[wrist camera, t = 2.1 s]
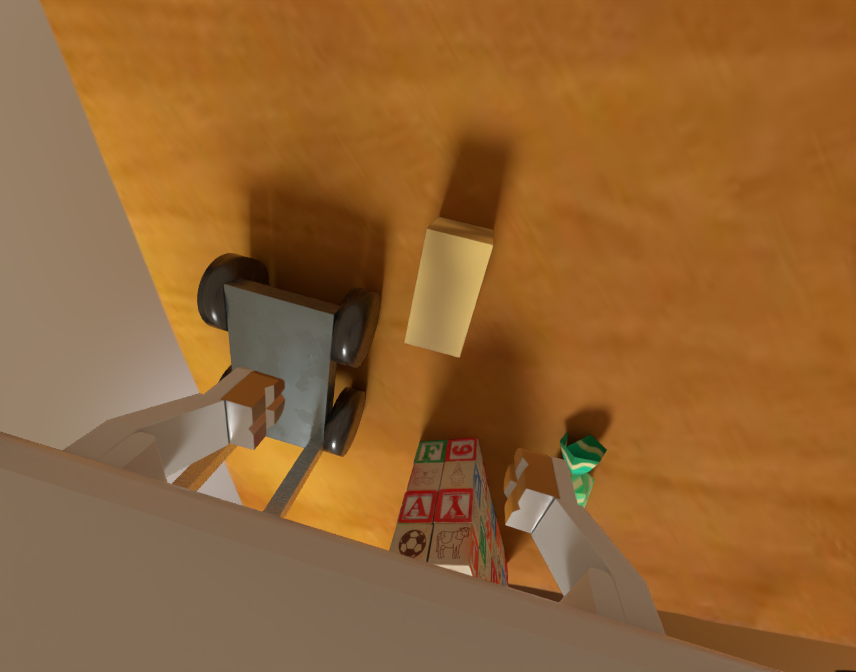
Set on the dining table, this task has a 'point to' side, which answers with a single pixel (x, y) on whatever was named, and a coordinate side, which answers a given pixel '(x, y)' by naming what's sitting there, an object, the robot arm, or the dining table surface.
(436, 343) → the block
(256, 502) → the dining table surface
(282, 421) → the trolley
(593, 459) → the candy
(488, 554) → the stack of blocks
